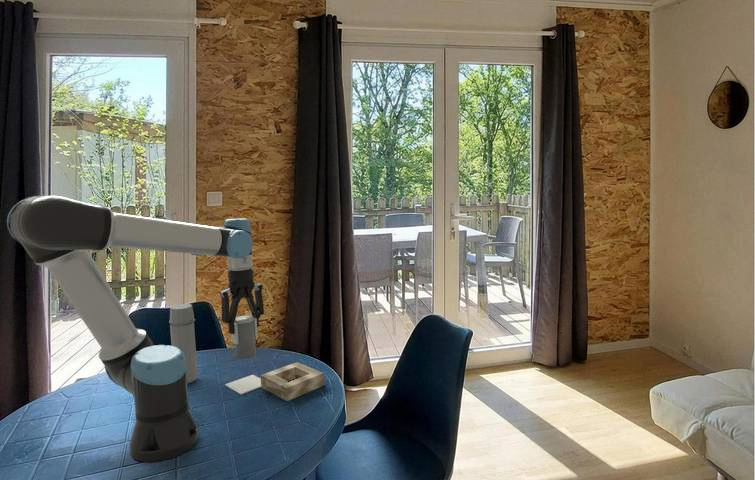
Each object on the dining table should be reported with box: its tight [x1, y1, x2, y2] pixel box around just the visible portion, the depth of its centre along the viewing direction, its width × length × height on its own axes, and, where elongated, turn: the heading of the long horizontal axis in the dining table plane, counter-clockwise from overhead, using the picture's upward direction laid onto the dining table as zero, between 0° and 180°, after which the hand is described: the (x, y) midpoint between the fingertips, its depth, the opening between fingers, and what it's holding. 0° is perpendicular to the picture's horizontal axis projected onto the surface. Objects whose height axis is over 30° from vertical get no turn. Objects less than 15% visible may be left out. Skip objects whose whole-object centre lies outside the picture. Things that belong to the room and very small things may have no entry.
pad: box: [224, 374, 262, 396], centre depth 142 cm, size 10×10×1 cm
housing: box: [260, 361, 325, 402], centre depth 140 cm, size 14×14×4 cm
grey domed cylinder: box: [234, 315, 256, 360], centre depth 140 cm, size 6×6×12 cm
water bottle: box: [168, 303, 199, 385], centre depth 145 cm, size 9×8×25 cm
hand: (245, 340), depth 140 cm, fingers closed on grey domed cylinder, 6 cm apart
